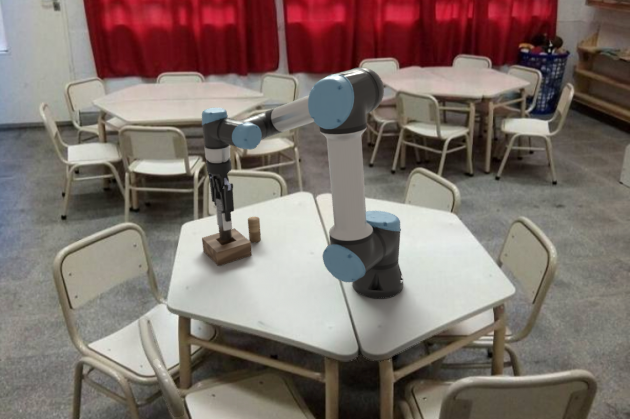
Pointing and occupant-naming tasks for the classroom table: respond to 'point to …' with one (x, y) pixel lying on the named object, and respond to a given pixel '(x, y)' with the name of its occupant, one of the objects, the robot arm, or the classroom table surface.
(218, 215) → the metal pin
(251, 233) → the oak dowel
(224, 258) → the socket block
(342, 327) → the classroom table surface
